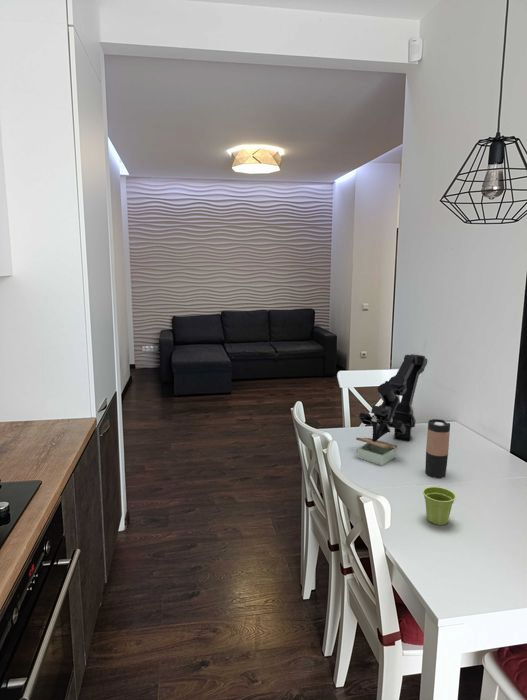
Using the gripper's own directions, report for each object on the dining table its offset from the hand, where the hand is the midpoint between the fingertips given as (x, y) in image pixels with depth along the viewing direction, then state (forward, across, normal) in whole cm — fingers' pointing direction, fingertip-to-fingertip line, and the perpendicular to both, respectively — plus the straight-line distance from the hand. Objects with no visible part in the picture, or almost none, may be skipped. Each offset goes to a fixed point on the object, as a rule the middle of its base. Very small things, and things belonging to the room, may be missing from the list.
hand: (373, 441), depth 185 cm
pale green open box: (+4, 0, +7) cm, 8 cm away
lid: (0, 0, +3) cm, 3 cm away
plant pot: (+24, +37, -13) cm, 46 cm away
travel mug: (+3, +24, +9) cm, 25 cm away
